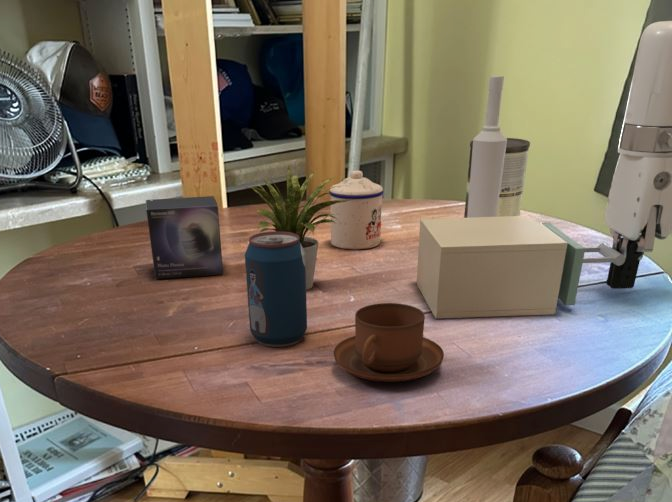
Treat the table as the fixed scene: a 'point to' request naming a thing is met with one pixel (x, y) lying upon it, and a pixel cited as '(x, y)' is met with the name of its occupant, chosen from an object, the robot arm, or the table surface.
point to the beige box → (489, 266)
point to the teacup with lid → (356, 213)
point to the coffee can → (508, 178)
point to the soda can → (276, 288)
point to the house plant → (296, 216)
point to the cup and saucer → (388, 345)
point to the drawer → (580, 263)
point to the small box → (185, 237)
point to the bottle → (488, 158)
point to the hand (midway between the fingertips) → (619, 286)
